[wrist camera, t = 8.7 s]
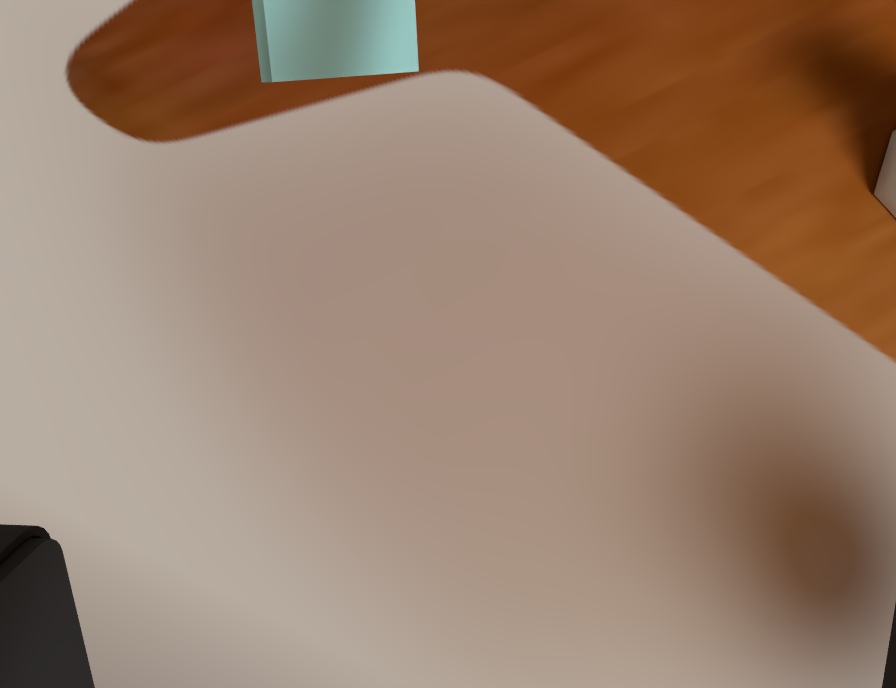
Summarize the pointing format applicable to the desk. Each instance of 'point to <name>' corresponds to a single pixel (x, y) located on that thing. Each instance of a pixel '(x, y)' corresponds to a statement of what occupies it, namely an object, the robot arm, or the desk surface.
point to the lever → (334, 38)
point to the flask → (888, 178)
